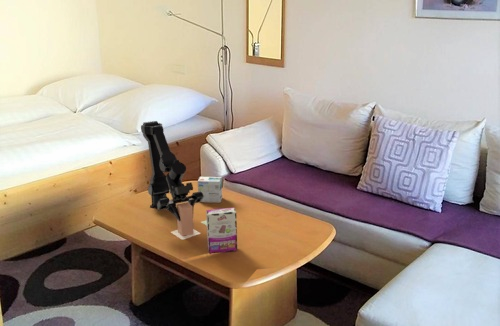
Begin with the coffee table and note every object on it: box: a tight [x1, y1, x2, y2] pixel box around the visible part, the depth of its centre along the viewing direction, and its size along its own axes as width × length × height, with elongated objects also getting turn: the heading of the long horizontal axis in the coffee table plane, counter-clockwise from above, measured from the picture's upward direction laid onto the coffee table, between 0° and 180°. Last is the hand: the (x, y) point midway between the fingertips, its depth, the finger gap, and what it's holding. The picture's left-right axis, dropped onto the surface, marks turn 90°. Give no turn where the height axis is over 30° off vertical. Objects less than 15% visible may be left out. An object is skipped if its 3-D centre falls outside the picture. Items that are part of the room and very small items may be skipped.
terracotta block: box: [176, 201, 194, 236], centre depth 222 cm, size 5×5×12 cm
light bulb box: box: [197, 176, 223, 204], centre depth 258 cm, size 11×7×11 cm, turn 84°
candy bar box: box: [205, 207, 238, 254], centre depth 210 cm, size 11×5×16 cm, turn 101°
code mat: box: [170, 219, 207, 241], centre depth 229 cm, size 26×15×1 cm, turn 130°
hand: (186, 219), depth 221 cm, fingers closed on terracotta block, 5 cm apart
